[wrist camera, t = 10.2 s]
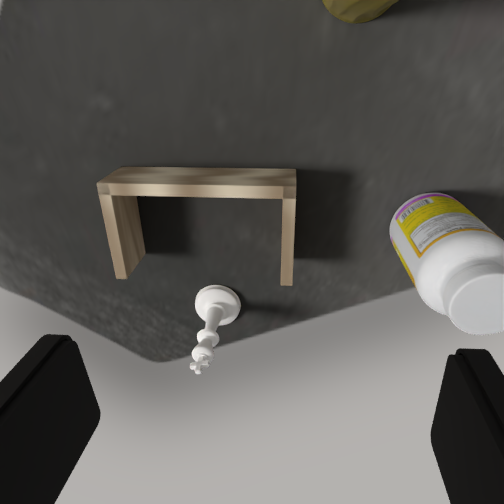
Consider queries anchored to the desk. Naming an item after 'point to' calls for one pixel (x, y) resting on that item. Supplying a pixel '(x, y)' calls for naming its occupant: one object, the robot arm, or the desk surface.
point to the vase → (357, 9)
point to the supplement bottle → (452, 261)
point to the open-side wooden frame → (188, 185)
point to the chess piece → (212, 321)
